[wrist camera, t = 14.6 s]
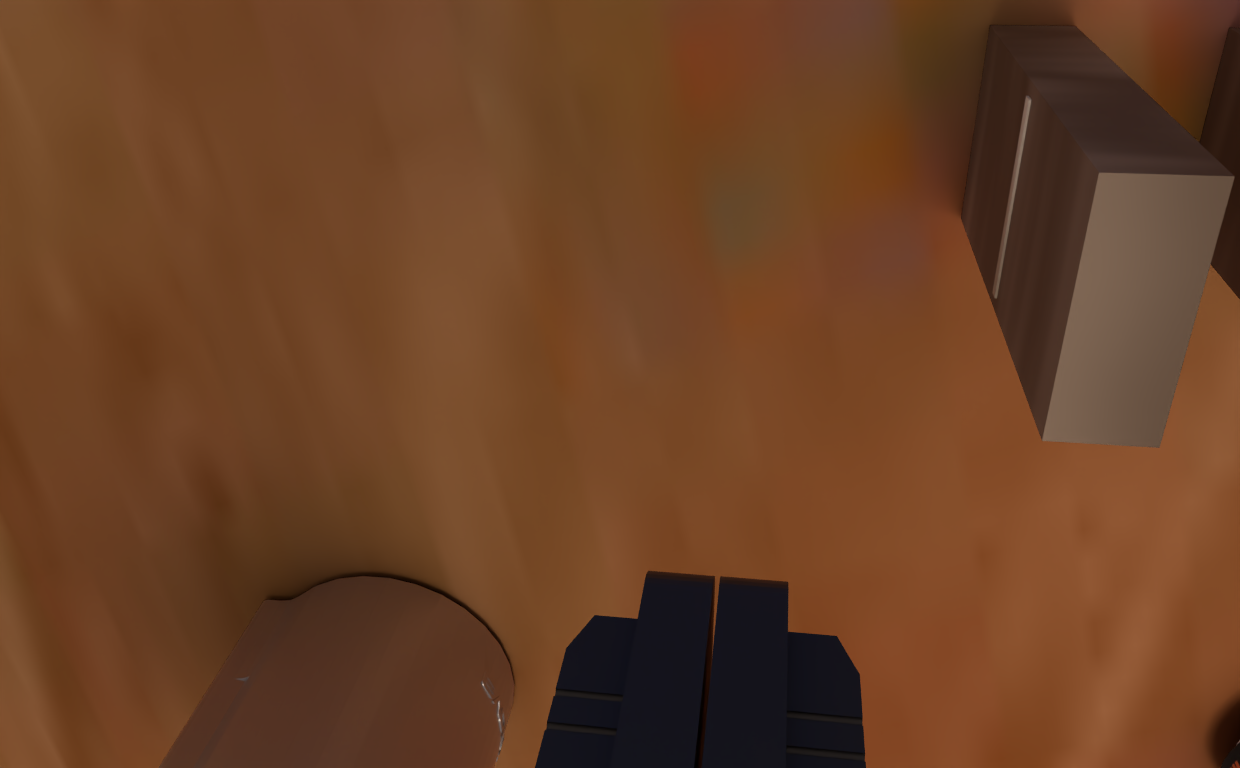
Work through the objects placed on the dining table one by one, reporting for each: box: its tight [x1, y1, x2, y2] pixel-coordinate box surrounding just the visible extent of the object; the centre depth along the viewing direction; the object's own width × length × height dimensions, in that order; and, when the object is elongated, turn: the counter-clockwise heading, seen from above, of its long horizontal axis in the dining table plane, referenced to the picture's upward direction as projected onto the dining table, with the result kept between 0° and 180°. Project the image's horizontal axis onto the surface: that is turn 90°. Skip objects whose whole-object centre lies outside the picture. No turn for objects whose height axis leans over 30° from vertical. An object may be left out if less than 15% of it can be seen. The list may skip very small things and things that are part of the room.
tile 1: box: [961, 25, 1235, 448], centre depth 23 cm, size 2×5×11 cm, turn 1°
